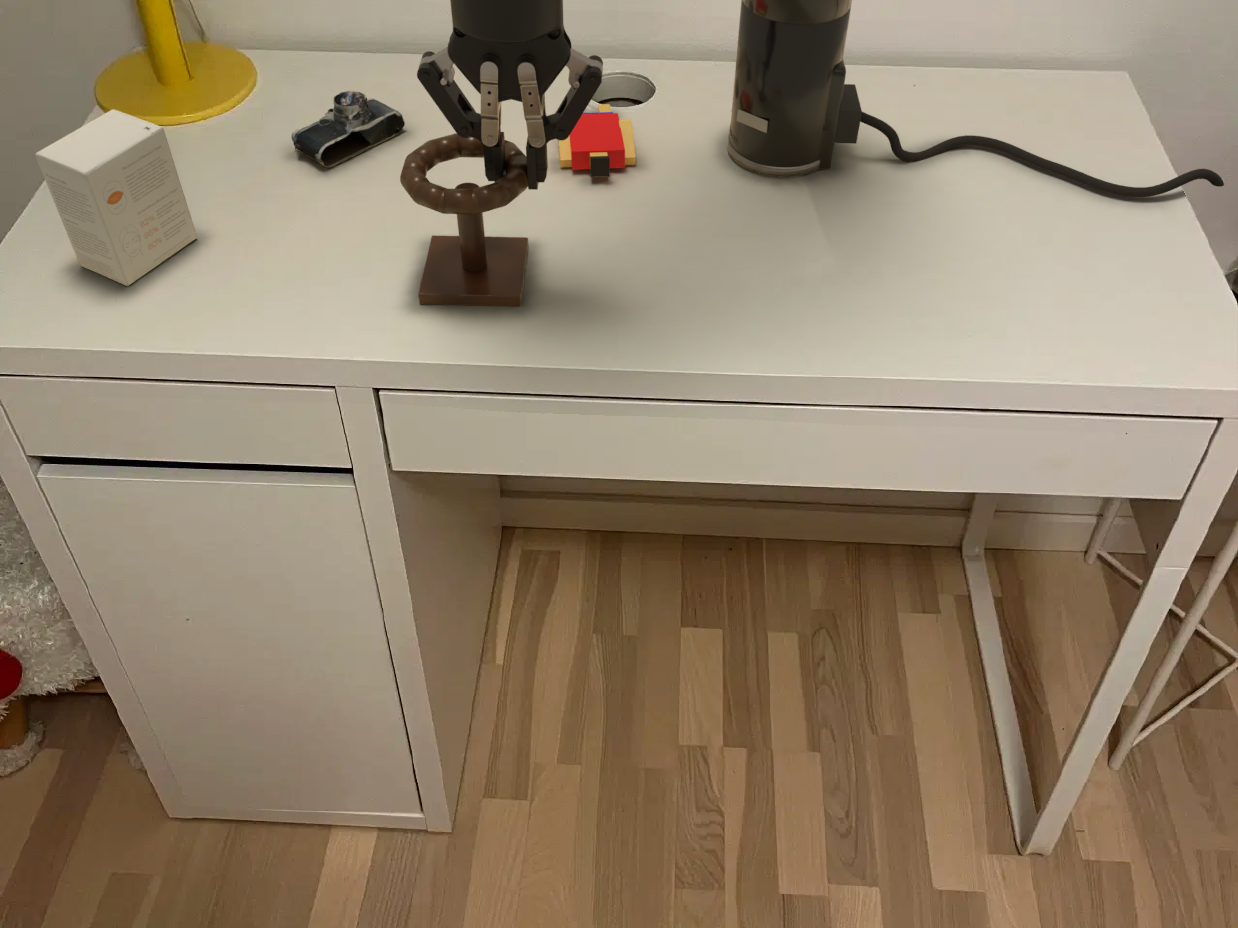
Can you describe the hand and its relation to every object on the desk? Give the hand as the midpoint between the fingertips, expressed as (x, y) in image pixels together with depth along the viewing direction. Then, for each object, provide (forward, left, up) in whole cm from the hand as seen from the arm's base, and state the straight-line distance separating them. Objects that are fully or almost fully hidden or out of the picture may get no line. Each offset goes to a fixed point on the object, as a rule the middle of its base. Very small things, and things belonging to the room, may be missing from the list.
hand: (517, 182), depth 87 cm
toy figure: (-5, -20, -9) cm, 22 cm away
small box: (+32, -2, -9) cm, 33 cm away
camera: (+18, -20, -9) cm, 28 cm away
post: (+4, 0, -9) cm, 9 cm away
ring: (+4, 0, +1) cm, 4 cm away
